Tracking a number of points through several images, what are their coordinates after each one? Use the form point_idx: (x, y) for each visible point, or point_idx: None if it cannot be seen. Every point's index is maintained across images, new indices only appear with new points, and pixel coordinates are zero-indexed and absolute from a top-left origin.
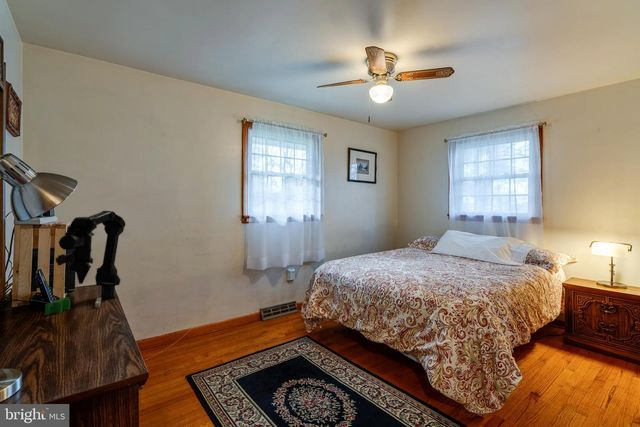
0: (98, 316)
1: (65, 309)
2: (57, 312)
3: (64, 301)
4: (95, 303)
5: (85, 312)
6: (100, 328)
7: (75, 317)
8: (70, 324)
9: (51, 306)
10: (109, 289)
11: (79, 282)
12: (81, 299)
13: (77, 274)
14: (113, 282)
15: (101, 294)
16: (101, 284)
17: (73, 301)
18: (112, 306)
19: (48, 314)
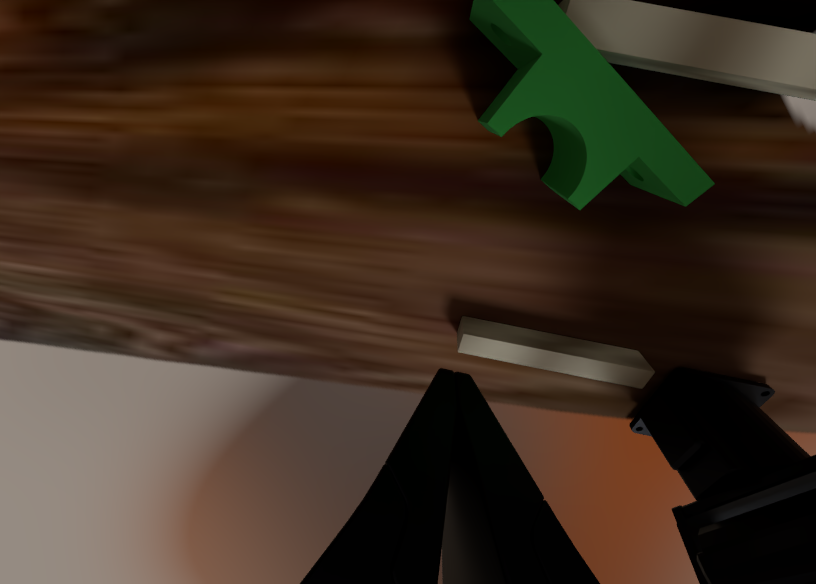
0: (276, 302)
1: (553, 160)
2: (494, 99)
3: (580, 158)
4: (466, 335)
5: (394, 262)
6: (75, 279)
7: (304, 203)
8: (163, 167)
9: (507, 31)
10: (677, 463)
11: (430, 384)
12: (810, 285)
13: (344, 530)
14: (690, 537)
15: (715, 401)
16: (796, 476)
17: (801, 231)
18: None
19: (476, 24)
